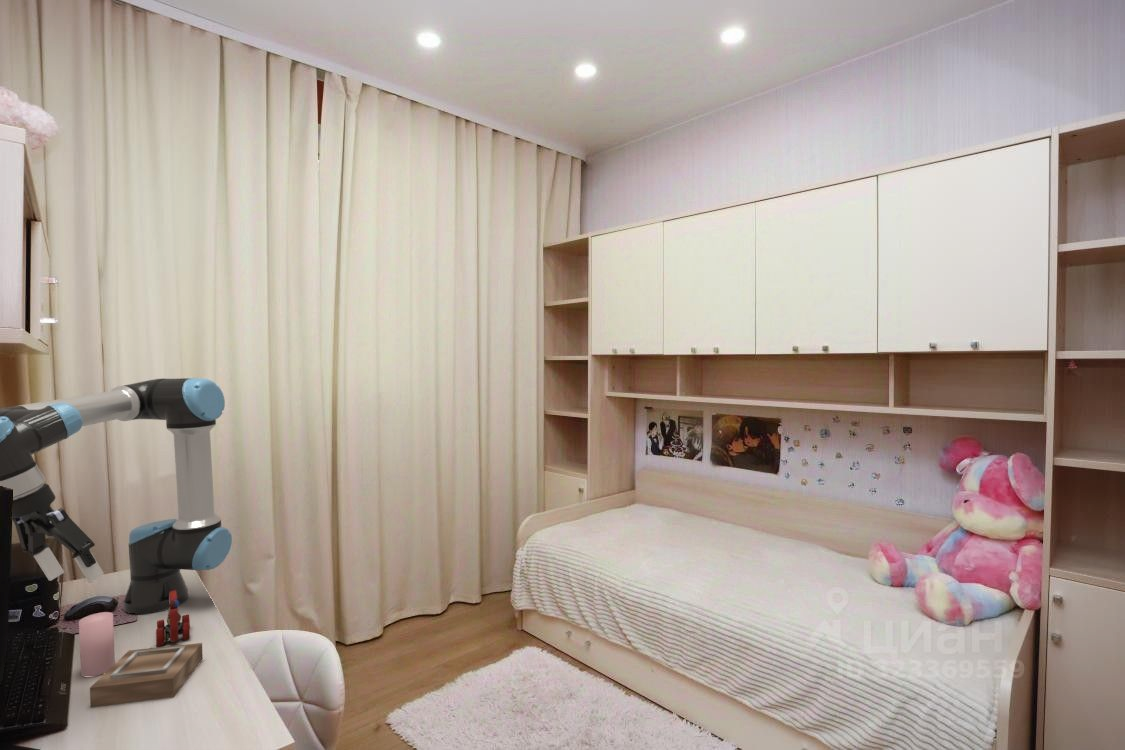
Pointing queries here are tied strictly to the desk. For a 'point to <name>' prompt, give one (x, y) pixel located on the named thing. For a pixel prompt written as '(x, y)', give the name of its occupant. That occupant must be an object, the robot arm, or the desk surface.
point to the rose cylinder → (96, 643)
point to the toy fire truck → (173, 623)
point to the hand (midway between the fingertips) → (76, 577)
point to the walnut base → (146, 675)
